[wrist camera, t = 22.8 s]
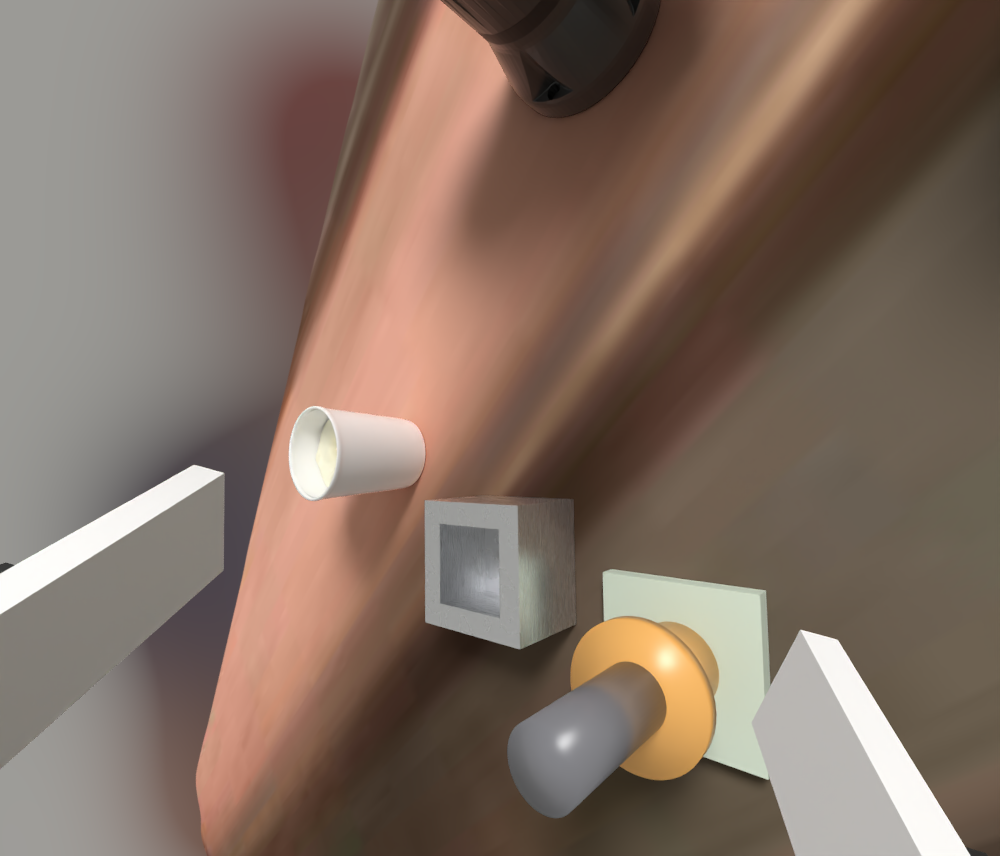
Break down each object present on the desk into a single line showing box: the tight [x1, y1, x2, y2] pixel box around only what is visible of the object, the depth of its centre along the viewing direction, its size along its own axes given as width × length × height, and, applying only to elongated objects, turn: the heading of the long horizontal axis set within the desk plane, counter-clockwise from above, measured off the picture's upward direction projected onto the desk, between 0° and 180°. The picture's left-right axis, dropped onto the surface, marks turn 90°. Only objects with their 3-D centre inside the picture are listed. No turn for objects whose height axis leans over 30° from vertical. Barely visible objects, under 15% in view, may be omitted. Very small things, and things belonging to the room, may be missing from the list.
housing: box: [425, 495, 576, 649], centre depth 47 cm, size 11×11×8 cm
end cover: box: [507, 616, 719, 818], centre depth 32 cm, size 10×10×17 cm
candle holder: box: [289, 406, 426, 501], centre depth 58 cm, size 10×10×12 cm
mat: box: [603, 569, 770, 780], centre depth 39 cm, size 12×12×2 cm
